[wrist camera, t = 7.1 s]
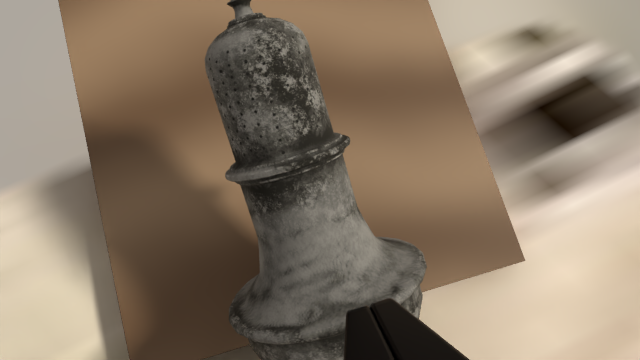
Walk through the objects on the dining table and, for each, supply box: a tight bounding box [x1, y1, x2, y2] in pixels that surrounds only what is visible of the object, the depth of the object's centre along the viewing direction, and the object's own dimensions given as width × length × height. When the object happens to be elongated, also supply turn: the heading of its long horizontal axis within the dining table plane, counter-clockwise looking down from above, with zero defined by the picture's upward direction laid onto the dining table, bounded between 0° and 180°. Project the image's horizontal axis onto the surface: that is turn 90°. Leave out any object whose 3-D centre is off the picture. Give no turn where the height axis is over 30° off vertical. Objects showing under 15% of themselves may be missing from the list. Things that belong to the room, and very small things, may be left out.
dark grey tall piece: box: [204, 0, 427, 360], centre depth 14 cm, size 6×6×12 cm
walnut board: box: [58, 0, 525, 360], centre depth 19 cm, size 16×14×1 cm
